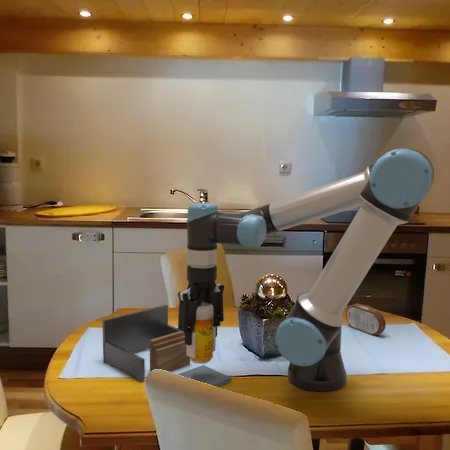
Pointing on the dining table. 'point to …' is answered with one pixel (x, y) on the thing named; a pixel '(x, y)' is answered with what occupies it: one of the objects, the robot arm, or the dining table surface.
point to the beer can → (204, 333)
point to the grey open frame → (133, 338)
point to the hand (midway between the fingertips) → (201, 352)
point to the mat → (207, 376)
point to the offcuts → (169, 352)
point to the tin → (365, 319)
